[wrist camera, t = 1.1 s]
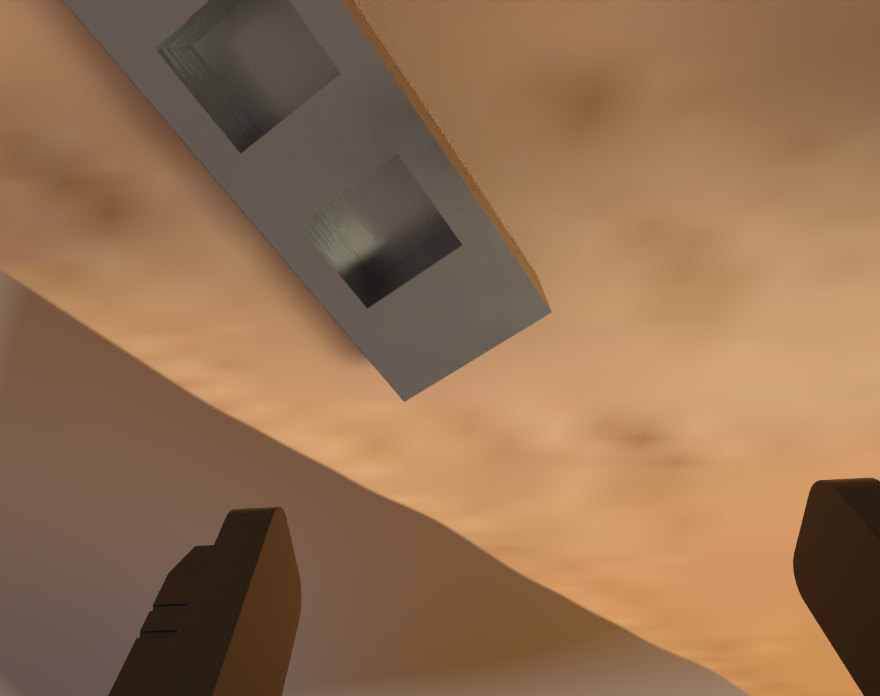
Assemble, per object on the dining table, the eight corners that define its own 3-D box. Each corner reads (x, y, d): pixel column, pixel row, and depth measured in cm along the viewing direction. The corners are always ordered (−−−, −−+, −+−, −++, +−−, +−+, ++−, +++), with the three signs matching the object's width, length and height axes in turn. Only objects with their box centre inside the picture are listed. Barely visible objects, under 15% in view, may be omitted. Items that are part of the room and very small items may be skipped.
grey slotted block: (231, -182, 24) (189, -224, 20) (537, 275, 32) (551, 311, 28) (85, -39, 26) (20, -50, 22) (408, 357, 34) (404, 401, 30)
